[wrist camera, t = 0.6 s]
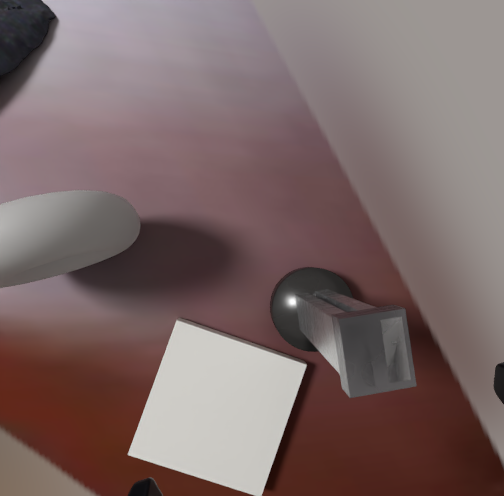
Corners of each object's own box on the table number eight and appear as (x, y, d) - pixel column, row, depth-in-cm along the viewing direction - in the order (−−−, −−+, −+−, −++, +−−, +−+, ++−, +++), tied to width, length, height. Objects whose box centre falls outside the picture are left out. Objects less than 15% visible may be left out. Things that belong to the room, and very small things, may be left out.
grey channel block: (341, 261, 26) (437, 269, 14) (352, 338, 26) (458, 413, 14) (264, 273, 25) (295, 290, 13) (276, 351, 25) (316, 439, 13)
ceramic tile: (259, 487, 25) (260, 497, 24) (131, 446, 25) (127, 454, 24) (303, 360, 25) (306, 364, 24) (178, 317, 25) (176, 320, 24)
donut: (147, 199, 25) (91, 162, 15) (162, 242, 25) (117, 235, 15) (14, 243, 24) (-136, 236, 14) (30, 288, 24) (-109, 312, 14)
